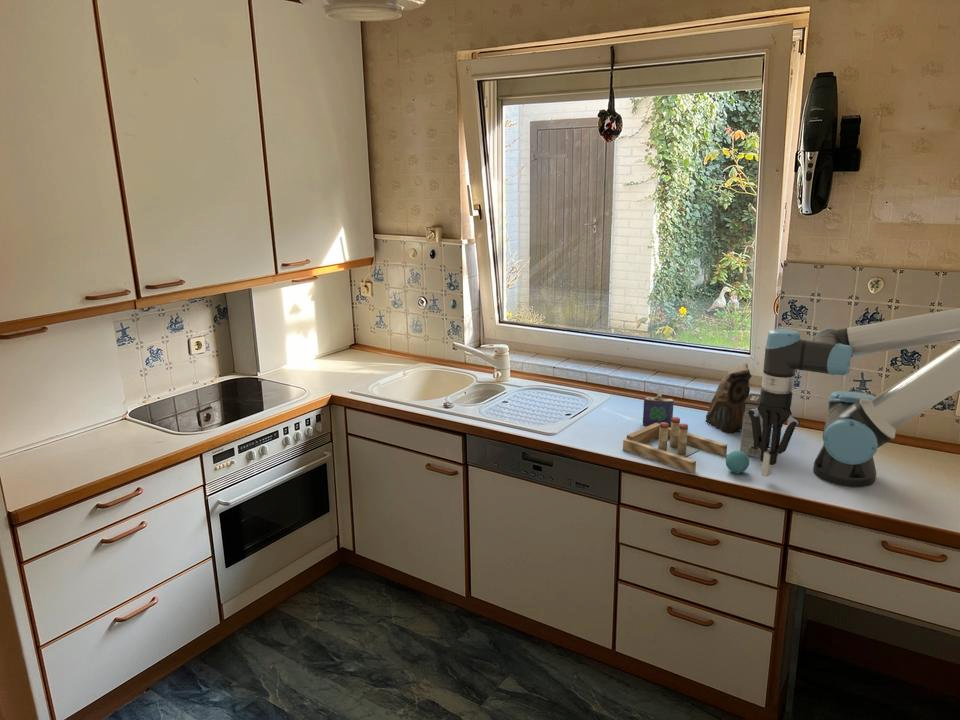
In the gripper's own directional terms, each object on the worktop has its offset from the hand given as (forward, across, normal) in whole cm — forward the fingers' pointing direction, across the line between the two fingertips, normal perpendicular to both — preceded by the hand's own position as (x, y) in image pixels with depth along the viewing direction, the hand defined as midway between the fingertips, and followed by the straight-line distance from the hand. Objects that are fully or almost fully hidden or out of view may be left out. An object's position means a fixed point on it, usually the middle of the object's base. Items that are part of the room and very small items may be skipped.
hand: (766, 474), depth 192 cm
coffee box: (+2, -12, +18) cm, 22 cm away
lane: (+2, -27, 0) cm, 28 cm away
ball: (-1, -8, 0) cm, 8 cm away
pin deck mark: (+2, -28, 0) cm, 28 cm away
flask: (+3, -43, +15) cm, 46 cm away
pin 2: (+2, -30, +3) cm, 30 cm away
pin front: (+2, -25, 0) cm, 26 cm away
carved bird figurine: (+3, -28, +31) cm, 42 cm away
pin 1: (+3, -30, -3) cm, 30 cm away
